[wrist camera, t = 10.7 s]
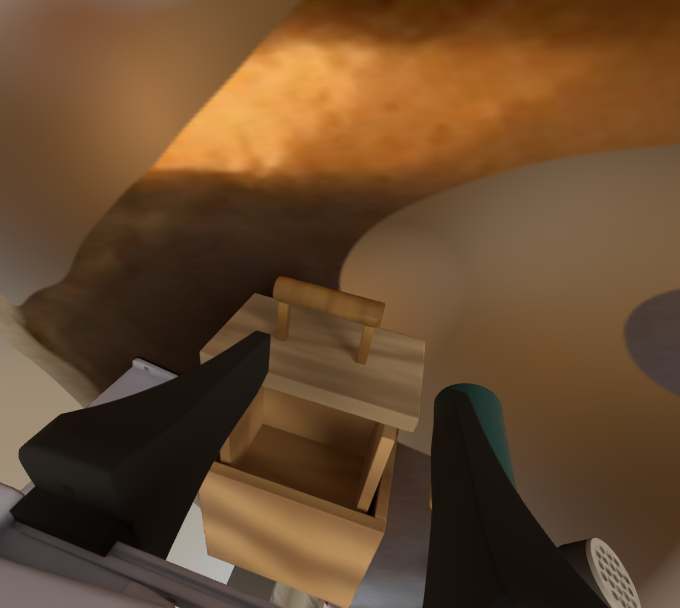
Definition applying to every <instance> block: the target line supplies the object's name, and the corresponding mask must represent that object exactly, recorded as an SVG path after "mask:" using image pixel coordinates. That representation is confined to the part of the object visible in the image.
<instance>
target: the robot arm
mask: <svg viewBox="0 0 680 608" xmlns="http://www.w3.org/2000/svg"><path fill="white" fill-rule="evenodd" d="M270 341H271V334H268V333H264V332H261V331H258V330H256V331H254V332H253V333H251V334H250V335H248V336H247V337H245V338H244V339H242V340H241V341H239V342H237V343H236V344H234V345H233V346H231V347H230V348H228V349H226V350H225V351H223V352H222V353H220V354H218V355H217V356H215V357H213V358H212V359H210V360H208V361H206V362H205V363H203V364H201V365H199V366H197V367H195V368H194V369H192V370H190V371H188V372H186V373H184V374H182V375H180V376H177V375H175V374H173V373H171V372H169V371H166V370H164V369H162V368H160V367H157V366H155V365H153V364H151V363H149V362H146V361H144V360H142V359H139V358H136V359H135V360H133V367H132V368H130V369H129V370H128V371H127V372H126V373H125V374H124V375H122V376H121V377H120V378H119V379H118V380H117V381H116V382H115V383H113V384H112V385H111V386H110V387H109V388H108V389H107V390H105V391H104V392H103V393H102V394H101V395H100V396H99V397H97V398H96V399H95V400H94V401H93V402H92V403H91V404H90V405H88V406H87V407H86V408H85V409H80V410H76V411H73V412H68V413H63V414H60V415H59V416H58V417H56V418H55V419H54V420H53V421H51V422H50V423H49V424H48V425H47V426H46V427H44V428H43V429H42V430H41V431H39V432H38V433H37V434H36V435H35V436H34V437H32V438H31V439H30V440H29V441H28V442H27V443H25V444H24V445H23V446H22V447H21V448H20V449H19V460H20V462H21V464H22V466H23V467H24V469H25V470H26V472H27V474H28V476H29V477H30V479H31V480H32V481H31V482H30V483H29V484H27V485H26V486H25V487H24V488H23V489H22V490H21V491H19V490H17V489H15V488H13V487H10V486H8V485H5V484H3V483H0V608H175V606H177V607H179V608H282V607H280V606H277V605H275V604H273V603H270V602H268V601H265V600H263V599H260V598H258V597H255V596H253V595H250V594H248V593H245V592H243V591H240V590H238V589H235V588H233V587H230V586H228V585H225V584H223V583H220V582H218V581H216V580H213V579H211V578H208V577H206V576H203V575H201V574H198V573H196V572H193V571H191V570H188V569H186V568H183V567H181V566H178V565H176V564H173V563H170V562H168V561H166V558H167V556H168V553H169V551H170V549H171V547H172V545H173V543H174V541H175V538H176V536H177V534H178V532H179V530H180V528H181V526H182V524H183V521H184V519H185V517H186V515H187V513H188V511H189V509H190V507H191V505H192V503H193V501H194V499H195V497H196V495H197V493H198V491H199V489H200V487H201V485H202V483H203V482H204V480H205V478H206V476H207V474H208V472H209V470H210V468H211V466H212V464H213V463H214V461H215V459H216V457H217V455H218V453H219V451H220V450H221V448H222V446H223V445H224V443H225V441H226V440H227V438H228V437H229V435H230V434H231V432H232V431H233V429H234V428H235V426H236V425H237V423H238V422H239V420H240V419H241V417H242V416H243V414H244V413H245V411H246V410H247V408H248V407H249V405H250V404H251V402H252V401H253V399H254V398H255V396H256V395H257V393H258V391H259V389H260V388H261V386H262V384H263V382H264V380H265V378H266V376H267V374H268V371H269V357H270ZM431 498H432V514H431V532H430V543H429V554H428V564H427V574H426V584H425V593H424V601H423V608H609V607H608V606H607V605H606V604H605V603H604V602H603V601H602V599H601V598H600V597H599V596H598V595H597V594H596V593H595V592H594V591H593V589H592V588H591V587H590V586H589V585H588V584H587V583H586V582H585V581H584V580H583V578H582V577H581V576H580V575H579V574H578V573H577V572H576V570H575V569H574V568H573V567H572V565H571V564H570V563H569V562H568V561H567V559H566V558H565V557H564V556H563V555H562V553H561V552H560V551H559V550H558V548H557V547H556V546H555V545H554V543H553V542H552V541H551V540H550V538H549V537H548V536H547V534H546V533H545V532H544V530H543V529H542V527H541V526H540V525H539V523H538V522H537V521H536V519H535V518H534V517H533V515H532V514H531V512H530V511H529V510H528V508H527V507H526V505H525V504H524V502H523V501H522V499H521V497H520V496H519V494H518V493H517V491H516V490H515V488H514V486H513V485H512V483H511V481H510V480H509V478H508V476H507V475H506V473H505V471H504V469H503V467H502V466H501V464H500V462H499V460H498V458H497V456H496V454H495V452H494V450H493V448H492V446H491V444H490V442H489V440H488V438H487V436H486V434H485V432H484V430H483V428H482V425H481V423H480V421H479V419H478V416H477V414H476V412H475V409H474V407H473V404H472V402H471V400H470V397H469V395H468V393H464V392H461V391H458V390H454V389H451V390H450V392H449V394H448V396H447V398H446V400H445V402H444V404H443V406H442V408H441V410H440V412H439V414H438V416H437V418H436V420H435V422H434V427H433V435H432V445H431Z"/></svg>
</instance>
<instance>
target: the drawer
mask: <svg viewBox="0 0 680 608" xmlns="http://www.w3.org/2000/svg"><path fill="white" fill-rule="evenodd" d="M384 307H385V303H382V302H379V301H375V300H371V299H367V298H364V297H360V296H356V295H352V294H349V293H345V292H341V291H337V290H334V289H330V288H326V287H322V286H319V285H315V284H311V283H307V282H304V281H300V280H296V279H292V278H289V277H285V276H279V277H278V278H277V280H276V282H275V285H274V288H273V298H270V297H267V296H263V295H260V294H256V293H254V294H253V295H252V297H251V298H250V299H249V300H248V301H247V302H246V303H245V304H244V305H243V306H242V307H241V308H240V309H239V310H238V311H237V312H236V314H235V315H234V316H233V317H232V318H231V319H230V320H229V321H228V322H227V323H226V324H225V325H224V326H223V327H222V328H221V329H220V330H219V332H218V333H217V334H216V335H215V336H214V337H213V338H212V339H211V340H210V341H209V342H208V343H207V344H206V345H205V346H204V347H203V349H202V350H201V351H200V361H201V364H203V363H205V362H206V361H208V360H210V359H212V358H213V357H215V356H217V355H218V354H220V353H222V352H223V351H225V350H226V349H228V348H230V347H231V346H233V345H234V344H236V343H237V342H239V341H241V340H242V339H244V338H245V337H247V336H248V335H250V334H251V333H253V332H254V331H256V330H258V331H261V332H264V333H268V334H271V341H270V357H269V371H268V374H267V376H266V378H265V380H264V382H263V384H262V386H261V388H260V389H259V391H258V393H257V395H256V396H255V398H254V399H253V401H252V402H251V404H250V405H249V407H248V408H247V410H246V411H245V413H244V414H243V416H242V417H241V419H240V420H239V422H238V423H237V425H236V426H235V428H234V429H233V431H232V432H231V434H230V435H229V437H228V438H227V440H226V441H225V443H224V445H223V446H222V448H221V450H220V458H221V464H223V465H226V466H229V467H232V468H235V469H237V470H240V471H243V472H246V473H249V474H252V475H255V476H257V477H260V478H263V479H266V480H269V481H272V482H275V483H277V484H280V485H283V486H286V487H289V488H292V489H295V490H297V491H300V492H303V493H306V494H309V495H312V496H315V497H317V498H320V499H323V500H326V501H329V502H332V503H335V504H337V505H340V506H343V507H346V508H349V509H352V510H355V511H357V512H360V513H363V514H367V511H368V509H369V506H370V503H371V501H372V498H373V496H374V493H375V491H376V488H377V486H378V483H379V481H380V478H381V475H382V473H383V470H384V468H385V465H386V463H387V460H388V458H389V455H390V452H391V450H392V447H393V445H394V442H395V437H396V430H397V428H399V429H402V430H405V431H408V432H411V433H414V431H415V428H416V426H417V424H418V421H419V419H420V405H421V392H422V378H423V365H424V352H425V340H422V339H419V338H415V337H411V336H408V335H404V334H401V333H397V332H393V331H389V330H386V329H383V328H379V325H380V321H381V318H382V315H383V310H384Z"/></svg>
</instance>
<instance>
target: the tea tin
mask: <svg viewBox="0 0 680 608" xmlns="http://www.w3.org/2000/svg"><path fill="white" fill-rule="evenodd" d="M451 389H454V390H458V391H461V392H464V393H468V395H469V397H470V400H471V402H472V404H473V407H474V409H475V412H476V414H477V416H478V419H479V421H480V423H481V425H482V428H483V430H484V432H485V434H486V436H487V438H488V440H489V442H490V444H491V446H492V448H493V450H494V452H495V454H496V456H497V458H498V460H499V462H500V464H501V466H502V467H503V469H504V471H505V473H506V475H507V476H508V478H509V480H510V481H511V483H512V485H513V486H514V488H515V490H516V485H515V480H514V474H513V469H512V463H511V458H510V452H509V447H508V442H507V436H506V430H505V425H504V419H503V414H502V408H501V404H500V401H499V399H498V398H497V397H496V395H494V393H492V392H491V391H490V390H488V389H486V388H484V387H482V386H479V385H475V384H467V383H462V384H455V385H451V386H449V387H446V388H445V389H443V390H442V391H441V392H440V393H439V394H438V395H437V396H436V398H435V402H434V422H435V420H436V418H437V416H438V414H439V412H440V410H441V408H442V406H443V404H444V402H445V400H446V398H447V396H448V394H449V392H450V390H451ZM429 503H430V508H431V510H432V498H431V487H430V500H429Z"/></svg>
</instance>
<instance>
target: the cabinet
mask: <svg viewBox="0 0 680 608" xmlns="http://www.w3.org/2000/svg"><path fill="white" fill-rule="evenodd" d="M398 430H399V428H397V430H396V437H395V442H394V445H393V447H392V450H391V452H390V455H389V458H388V460H387V463H386V465H385V468H384V470H383V473H382V475H381V478H380V481H379V483H378V486H377V488H376V491H375V493H374V496H373V498H372V501H371V503H370V506H369V509H368V511H367V514H363V513H360V512H357V511H355V510H352V509H349V508H346V507H343V506H340V505H337V504H335V503H332V502H329V501H326V500H323V499H320V498H317V497H315V496H312V495H309V494H306V493H303V492H300V491H297V490H295V489H292V488H289V487H286V486H283V485H280V484H277V483H275V482H272V481H269V480H266V479H263V478H260V477H257V476H255V475H252V474H249V473H246V472H243V471H240V470H237V469H235V468H232V467H229V466H226V465H223V464H221V458H220V451H219V453H218V455H217V457H216V459H215V461H214V463H213V464H212V466H211V468H210V470H209V472H208V474H207V476H206V478H205V480H204V482H203V483H202V485H201V487H200V489H199V497H200V504H201V511H202V518H203V525H204V532H205V539H206V546H207V553H208V555H210V556H213V557H215V558H217V559H220V560H222V561H225V562H228V563H230V564H233V565H235V566H238V567H240V568H243V569H246V570H248V571H251V572H253V573H256V574H258V575H261V576H263V577H266V578H269V579H271V580H274V581H276V582H279V583H281V584H284V585H287V586H289V587H292V588H294V589H297V590H299V591H302V592H305V593H307V594H310V595H312V596H315V597H317V598H320V599H323V600H325V601H328V602H330V603H333V604H335V605H338V606H341V607H343V608H349V606H350V604H351V602H352V600H353V598H354V596H355V594H356V591H357V589H358V587H359V585H360V583H361V581H362V579H363V577H364V575H365V573H366V571H367V569H368V567H369V564H370V562H371V560H372V558H373V556H374V554H375V552H376V550H377V548H378V546H379V544H380V542H381V539H382V537H383V535H384V533H385V526H386V518H387V511H388V504H389V496H390V489H391V481H392V474H393V466H394V459H395V452H396V444H397V437H398V436H397V435H398Z"/></svg>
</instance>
